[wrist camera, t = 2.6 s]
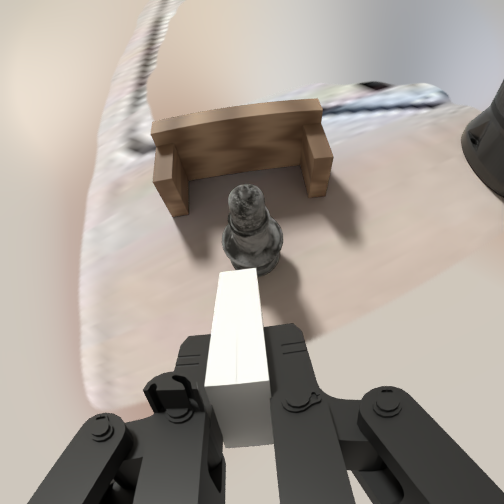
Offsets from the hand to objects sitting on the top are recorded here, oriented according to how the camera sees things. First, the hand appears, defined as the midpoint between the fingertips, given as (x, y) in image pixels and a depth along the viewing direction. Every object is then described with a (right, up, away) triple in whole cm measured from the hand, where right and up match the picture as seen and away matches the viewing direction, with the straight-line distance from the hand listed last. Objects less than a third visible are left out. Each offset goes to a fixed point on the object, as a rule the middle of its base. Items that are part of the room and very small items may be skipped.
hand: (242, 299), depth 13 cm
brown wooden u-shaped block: (0, +10, +24) cm, 26 cm away
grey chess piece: (+1, +2, +20) cm, 20 cm away
